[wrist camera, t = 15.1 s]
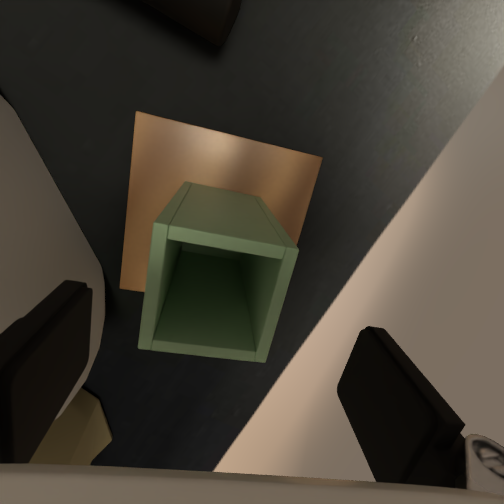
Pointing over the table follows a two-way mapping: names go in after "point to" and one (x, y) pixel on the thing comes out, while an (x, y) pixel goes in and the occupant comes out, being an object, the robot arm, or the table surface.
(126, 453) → the table surface
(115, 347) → the table surface
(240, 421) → the table surface
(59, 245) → the alarm clock
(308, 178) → the cork mat
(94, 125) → the table surface
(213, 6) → the end cap
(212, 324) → the sage tub
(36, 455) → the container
